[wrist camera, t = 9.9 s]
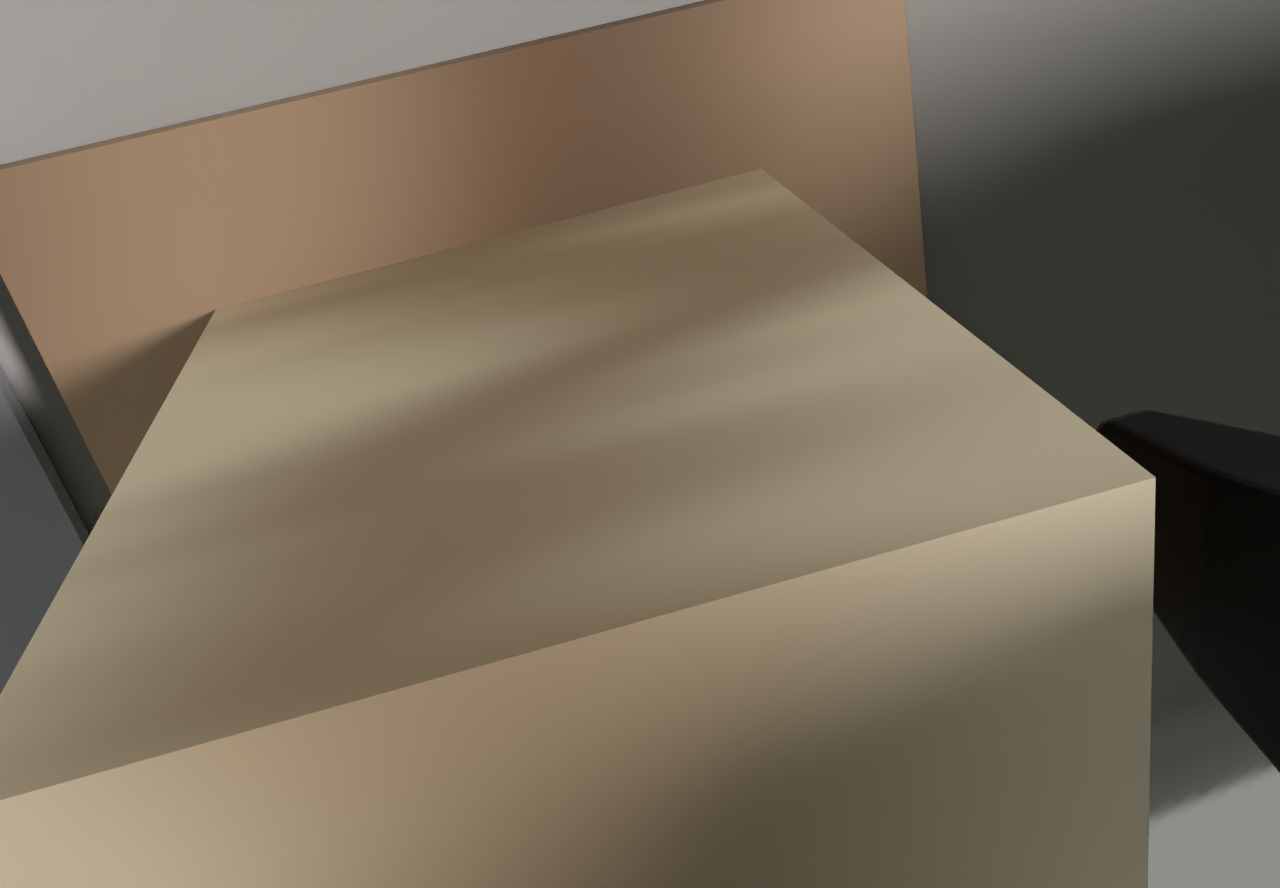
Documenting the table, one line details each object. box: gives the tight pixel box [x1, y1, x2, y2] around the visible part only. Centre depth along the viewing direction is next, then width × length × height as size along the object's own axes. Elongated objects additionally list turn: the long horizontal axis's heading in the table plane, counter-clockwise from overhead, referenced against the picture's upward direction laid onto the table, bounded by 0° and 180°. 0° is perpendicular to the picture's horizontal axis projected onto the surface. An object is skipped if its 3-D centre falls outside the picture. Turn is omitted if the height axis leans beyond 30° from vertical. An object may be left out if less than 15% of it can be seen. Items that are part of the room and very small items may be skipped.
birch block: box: [0, 169, 1156, 888], centre depth 8 cm, size 5×5×6 cm
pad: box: [0, 0, 928, 495], centre depth 11 cm, size 8×8×1 cm
